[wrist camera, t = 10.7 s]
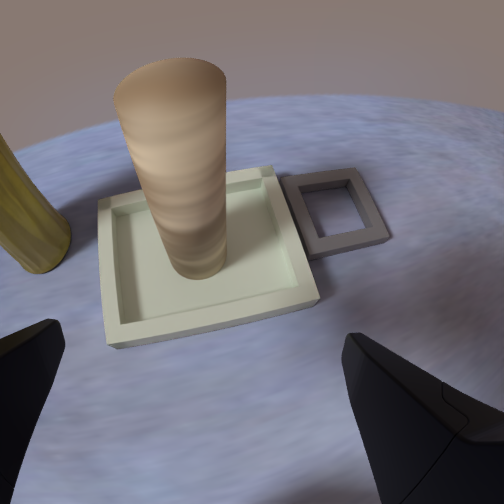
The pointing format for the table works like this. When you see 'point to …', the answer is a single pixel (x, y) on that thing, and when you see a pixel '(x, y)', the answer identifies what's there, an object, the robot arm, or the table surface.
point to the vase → (29, 219)
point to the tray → (207, 290)
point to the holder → (340, 242)
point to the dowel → (180, 156)
